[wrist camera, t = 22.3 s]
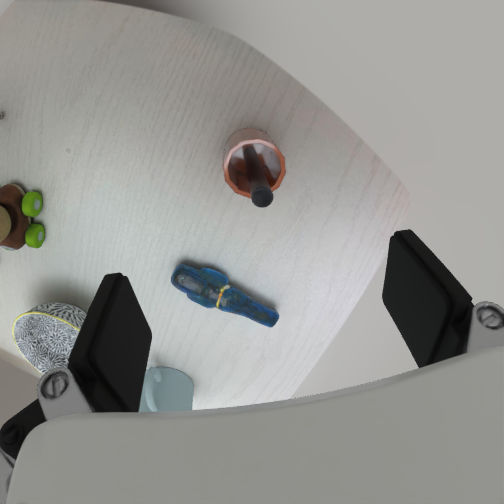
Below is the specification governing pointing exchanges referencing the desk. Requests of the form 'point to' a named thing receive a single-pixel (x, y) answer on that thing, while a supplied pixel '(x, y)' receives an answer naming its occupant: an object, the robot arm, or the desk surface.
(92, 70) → the desk surface
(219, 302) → the figurine
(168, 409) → the mug
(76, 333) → the bowl
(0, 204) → the toy car
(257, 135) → the pen pot
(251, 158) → the stylus
